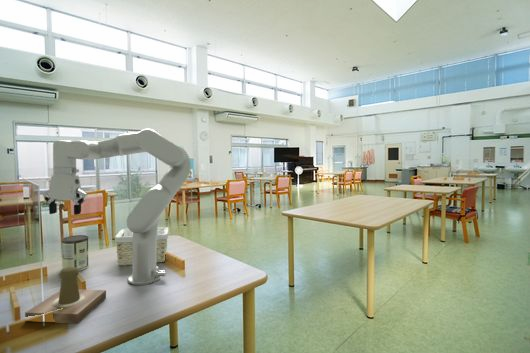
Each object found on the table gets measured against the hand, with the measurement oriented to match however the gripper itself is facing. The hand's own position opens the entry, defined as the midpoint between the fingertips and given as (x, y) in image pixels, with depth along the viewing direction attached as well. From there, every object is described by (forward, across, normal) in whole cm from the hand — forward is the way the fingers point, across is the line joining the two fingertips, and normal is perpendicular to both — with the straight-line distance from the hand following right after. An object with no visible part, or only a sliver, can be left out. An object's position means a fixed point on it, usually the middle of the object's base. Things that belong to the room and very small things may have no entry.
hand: (65, 213), depth 113 cm
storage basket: (+29, -20, -28) cm, 45 cm away
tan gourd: (+25, -15, +20) cm, 36 cm away
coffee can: (+28, +6, -15) cm, 33 cm away
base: (+28, -15, +20) cm, 38 cm away
